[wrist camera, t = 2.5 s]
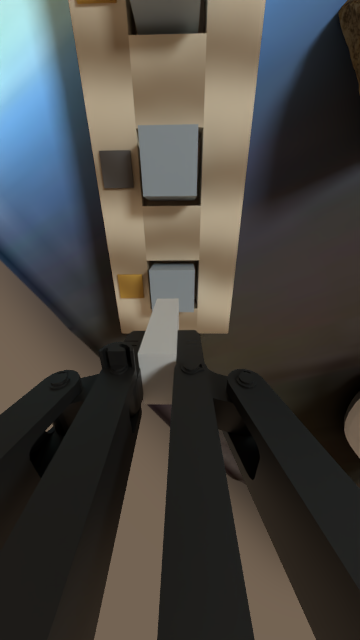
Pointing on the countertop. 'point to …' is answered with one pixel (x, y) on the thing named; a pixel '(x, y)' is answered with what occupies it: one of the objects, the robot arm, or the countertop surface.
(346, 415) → the pot
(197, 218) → the button panel
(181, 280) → the button
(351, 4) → the rock
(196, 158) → the middle button
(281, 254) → the countertop surface
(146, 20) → the button
